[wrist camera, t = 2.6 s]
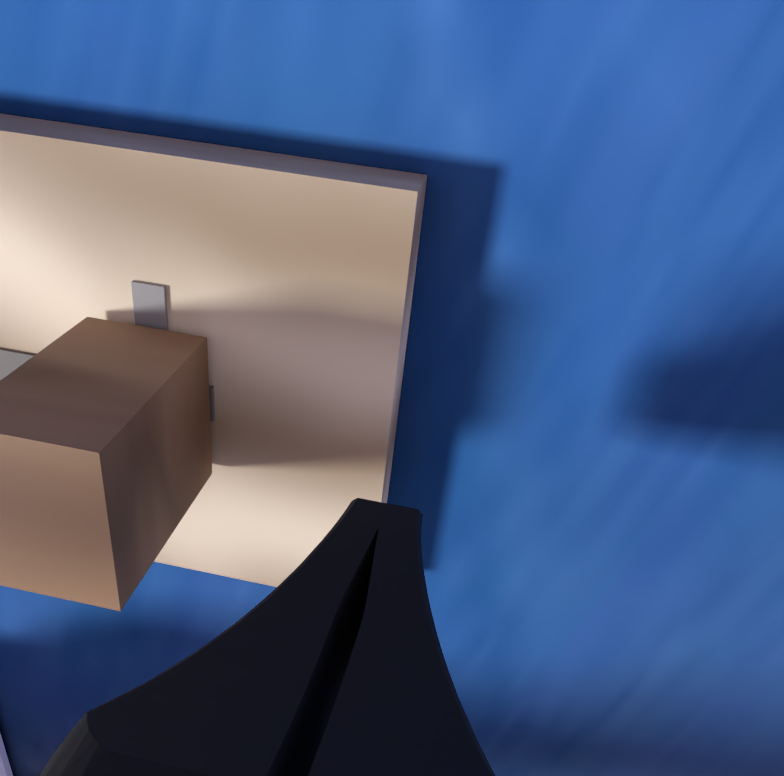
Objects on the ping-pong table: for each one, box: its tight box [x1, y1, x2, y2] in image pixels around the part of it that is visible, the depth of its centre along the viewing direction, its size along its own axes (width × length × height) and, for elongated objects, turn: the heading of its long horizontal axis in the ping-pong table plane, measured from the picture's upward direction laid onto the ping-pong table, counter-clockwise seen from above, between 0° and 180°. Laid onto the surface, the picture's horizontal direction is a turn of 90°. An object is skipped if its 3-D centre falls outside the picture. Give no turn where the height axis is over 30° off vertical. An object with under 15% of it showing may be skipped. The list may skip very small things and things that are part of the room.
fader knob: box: [0, 317, 212, 611], centre depth 16 cm, size 4×3×5 cm
